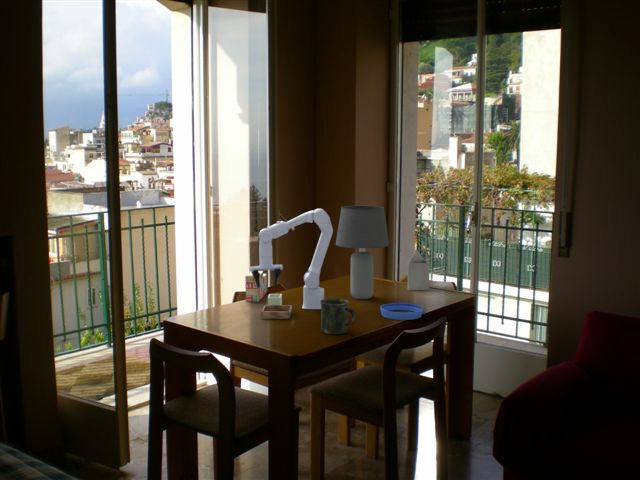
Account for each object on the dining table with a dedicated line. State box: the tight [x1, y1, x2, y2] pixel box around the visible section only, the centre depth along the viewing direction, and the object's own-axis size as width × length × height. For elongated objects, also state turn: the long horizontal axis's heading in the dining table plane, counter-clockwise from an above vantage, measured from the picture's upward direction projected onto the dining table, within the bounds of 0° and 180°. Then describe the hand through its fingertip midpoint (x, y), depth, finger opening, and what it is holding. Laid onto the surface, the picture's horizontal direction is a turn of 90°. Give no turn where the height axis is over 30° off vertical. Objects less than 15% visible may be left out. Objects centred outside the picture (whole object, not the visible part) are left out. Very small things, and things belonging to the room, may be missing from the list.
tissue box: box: [407, 249, 431, 291], centre depth 346 cm, size 16×8×19 cm, turn 143°
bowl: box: [380, 302, 424, 321], centre depth 293 cm, size 18×18×4 cm
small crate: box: [267, 293, 283, 305], centre depth 303 cm, size 6×8×6 cm
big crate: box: [260, 304, 293, 320], centre depth 292 cm, size 12×12×3 cm
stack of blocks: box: [245, 271, 268, 302], centre depth 328 cm, size 21×6×12 cm, turn 174°
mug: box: [320, 297, 356, 335], centre depth 266 cm, size 11×15×12 cm
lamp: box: [335, 205, 390, 300], centre depth 324 cm, size 25×25×43 cm
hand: (266, 286), depth 303 cm, fingers open, 7 cm apart
